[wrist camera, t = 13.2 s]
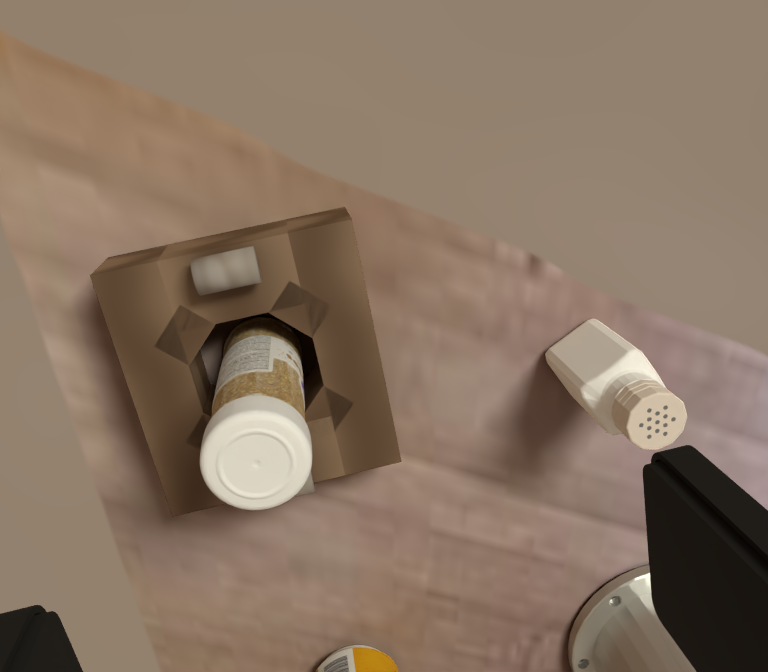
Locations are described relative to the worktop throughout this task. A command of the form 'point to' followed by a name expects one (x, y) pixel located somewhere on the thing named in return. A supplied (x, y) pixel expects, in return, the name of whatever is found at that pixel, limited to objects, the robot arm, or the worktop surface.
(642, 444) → the pepper shaker
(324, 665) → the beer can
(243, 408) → the sprinkles bottle
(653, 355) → the worktop surface
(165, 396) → the open brown cardboard box
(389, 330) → the worktop surface
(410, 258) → the worktop surface
